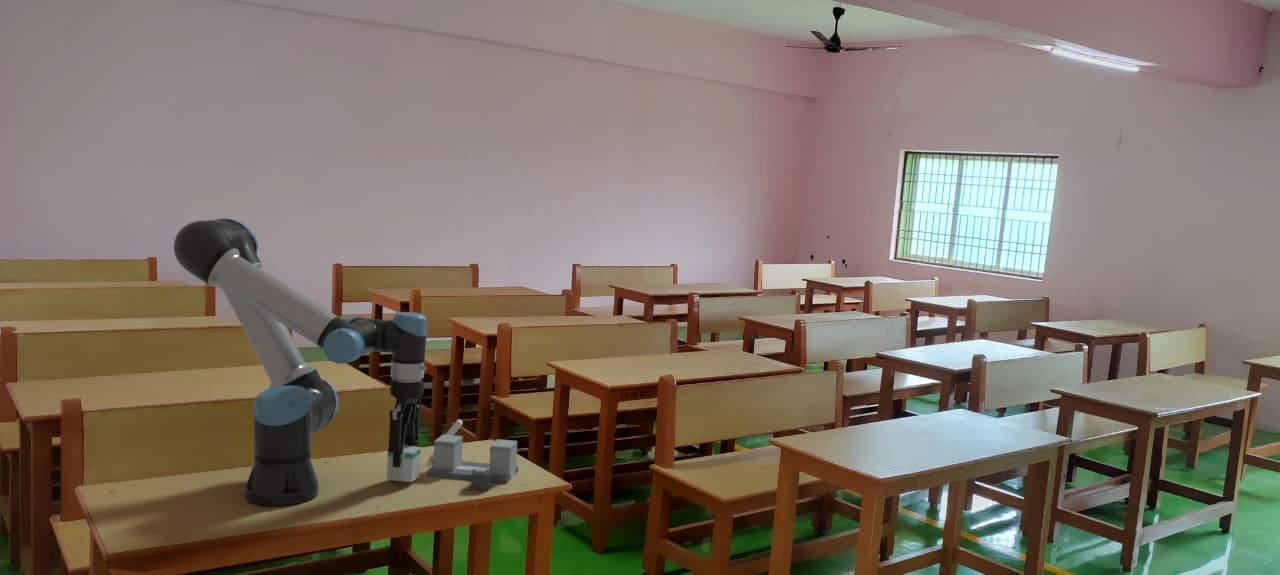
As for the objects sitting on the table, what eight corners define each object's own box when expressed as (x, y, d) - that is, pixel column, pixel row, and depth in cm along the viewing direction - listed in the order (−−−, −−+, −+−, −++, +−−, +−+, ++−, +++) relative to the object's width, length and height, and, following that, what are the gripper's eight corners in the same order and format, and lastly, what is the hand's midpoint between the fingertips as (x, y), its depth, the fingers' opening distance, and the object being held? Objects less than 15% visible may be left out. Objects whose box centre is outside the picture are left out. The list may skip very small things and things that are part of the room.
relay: (470, 491, 215) (471, 471, 214) (472, 485, 219) (472, 466, 218) (488, 491, 215) (489, 472, 215) (489, 485, 219) (489, 466, 219)
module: (386, 479, 216) (387, 450, 215) (395, 473, 221) (396, 444, 220) (411, 482, 215) (412, 452, 215) (419, 475, 220) (420, 447, 220)
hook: (481, 440, 238) (459, 427, 235) (452, 475, 239) (430, 462, 236) (478, 427, 244) (457, 414, 242) (450, 461, 246) (428, 448, 243)
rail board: (426, 475, 224) (427, 442, 223) (441, 463, 234) (442, 432, 233) (507, 483, 221) (508, 449, 220) (518, 471, 231) (519, 438, 230)
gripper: (407, 388, 206) (402, 489, 209) (436, 373, 224) (431, 466, 227) (375, 385, 207) (370, 485, 210) (407, 370, 225) (402, 463, 228)
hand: (402, 475), depth 218 cm, fingers closed on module, 5 cm apart
